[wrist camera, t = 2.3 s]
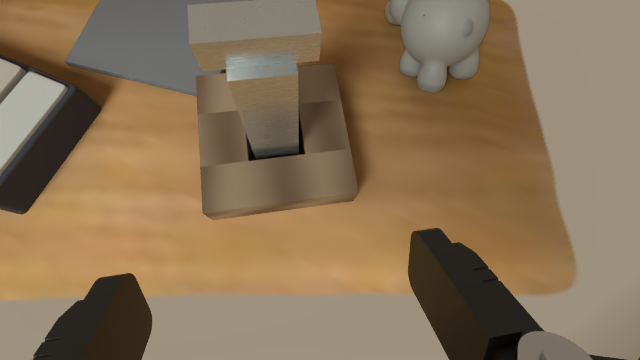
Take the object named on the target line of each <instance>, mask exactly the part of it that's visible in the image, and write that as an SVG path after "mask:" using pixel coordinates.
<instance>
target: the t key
mask: <svg viewBox="0 0 640 360" xmlns="http://www.w3.org/2000/svg"><path fill="white" fill-rule="evenodd" d="M187 7H188V29H189V45H190V47H191V49H192V51H193V53H194V55H195V58H196V60H197V62H198V64H199V66H200V68H201V70H202V72H203V71H214V70H225V69H226V73H227V82H228V85H229V88H230V90H231V93H232V96H233V98H234V101H235V104H236V107H237V109H238V112H239V115H240V118H241V120H242V123H243V126H244V129H245V131H246V134H247V137H248V140H249V142H250V145H251V148H252V150H253V153H254V156H255V159H256V160H262V159H270V158H278V157H286V156H295V155H299V114H298V70H297V63H302V62H313V61H319V57H320V46H321V35H322V32H321V27H320V21H319V16H318V11H317V6H316V0H251V1H236V2H222V3H208V4H194V5H187Z"/></svg>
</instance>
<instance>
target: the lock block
mask: <svg viewBox="0 0 640 360" xmlns="http://www.w3.org/2000/svg"><path fill="white" fill-rule="evenodd" d="M297 70H298V114H299V129H300V136H301V142H302V149H303V155H295V156H286V157H278V158H270V159H262V160H253V161H252V154H251V145H250V142H249V140H248V137H247V134H246V131H245V129H244V126H243V123H242V120H241V118H240V115H239V112H238V109H237V107H236V104H235V101H234V98H233V96H232V93H231V90H230V88H229V85H228V82H227V73H222V74H211V75H201V76H196V89H197V109H198V129H199V149H200V169H201V188H202V208H203V214H205V215H206V216H208V217H209V218H211V219H212V220H218V219H225V218H232V217H240V216H247V215H254V214H261V213H269V212H276V211H283V210H290V209H298V208H305V207H312V206H319V205H327V204H334V203H341V202H348V201H353V200H354V198H355V197H356V196H357V194H358V193H359V190H358V185H357V180H356V175H355V169H354V164H353V159H352V154H351V149H350V144H349V139H348V133H347V128H346V123H345V118H344V113H343V108H342V103H341V97H340V92H339V87H338V82H337V77H336V72H335V67H334V63H330V64H320V65H309V66H298V67H297Z"/></svg>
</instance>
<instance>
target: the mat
mask: <svg viewBox="0 0 640 360" xmlns="http://www.w3.org/2000/svg"><path fill="white" fill-rule="evenodd" d="M236 1H251V0H100V1H99V2H98V4H97V6H96V8H95V9H94V11H93V13H92V15H91V16H90V18H89V20H88V22H87V23H86V25H85V27H84V29H83V30H82V32H81V34H80V36H79V37H78V39H77V41H76V43H75V44H74V46H73V48H72V50H71V51H70V53H69V55H68V57H67V58H66V60H65V62H66V63H67V64H68V65H70V66H74V67H78V68H82V69H86V70H91V71H95V72H99V73H103V74H107V75H111V76H116V77H120V78H124V79H128V80H132V81H136V82H140V83H145V84H149V85H153V86H157V87H161V88H165V89H169V90H174V91H178V92H182V93H186V94H190V95H194V96H197V89H196V76H201V75H211V74H222V73H223V72H224V70H214V71H203V72H202V70H201V68H200V66H199V64H198V62H197V60H196V58H195V55H194V53H193V51H192V49H191V47H190V45H189V29H188V7H187V5H194V4H208V3H222V2H236Z"/></svg>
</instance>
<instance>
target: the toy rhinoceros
mask: <svg viewBox="0 0 640 360" xmlns="http://www.w3.org/2000/svg"><path fill="white" fill-rule="evenodd" d="M385 16H386V18H387V20H388V21H389V22H390V23H391V24H394V25H400V26H401V36H402V40H403V43H404V45H405V51H404V52H403V54H402V56H401V59H400V63H399V69H400V71H401V73H402V74H404V75H407V76H412V77H416V76H417V86H418V88H419V89H420V90H423V91H426V92H438V91H440V90H442V88H443V87H444V85H445V83H446V79H447V67H448V66H449V68H448V70H449V74H450V75H451V76H452V77H453V78H455V79H463V80H464V79H470V78H472V77H473V76H474V75H475V74H476V72H477V70H478V66H479V58H480V57H479V50H478V46H479V44H480V43H481V41H482V40H483V38H484V36H485V34H486V31H487V28H488V24H489V19H490V9H489V3H488V0H389V1H388V3H387V4H386V8H385Z"/></svg>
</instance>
